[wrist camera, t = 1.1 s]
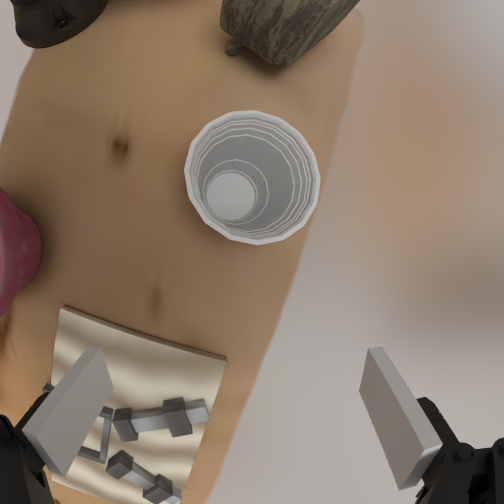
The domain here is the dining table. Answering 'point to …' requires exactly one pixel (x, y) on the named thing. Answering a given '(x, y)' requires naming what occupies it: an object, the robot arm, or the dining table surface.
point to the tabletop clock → (281, 25)
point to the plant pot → (16, 250)
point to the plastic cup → (252, 177)
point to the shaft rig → (138, 411)
